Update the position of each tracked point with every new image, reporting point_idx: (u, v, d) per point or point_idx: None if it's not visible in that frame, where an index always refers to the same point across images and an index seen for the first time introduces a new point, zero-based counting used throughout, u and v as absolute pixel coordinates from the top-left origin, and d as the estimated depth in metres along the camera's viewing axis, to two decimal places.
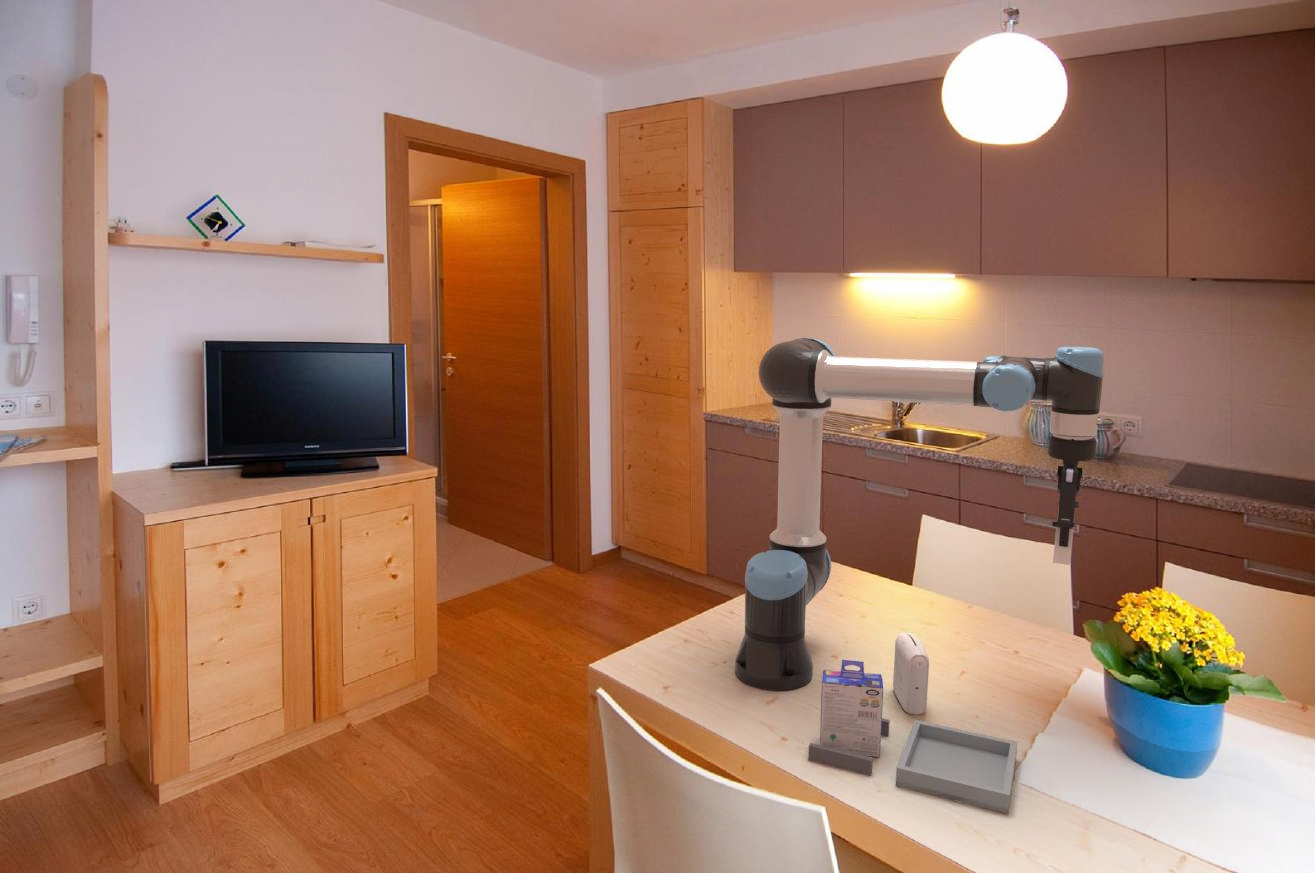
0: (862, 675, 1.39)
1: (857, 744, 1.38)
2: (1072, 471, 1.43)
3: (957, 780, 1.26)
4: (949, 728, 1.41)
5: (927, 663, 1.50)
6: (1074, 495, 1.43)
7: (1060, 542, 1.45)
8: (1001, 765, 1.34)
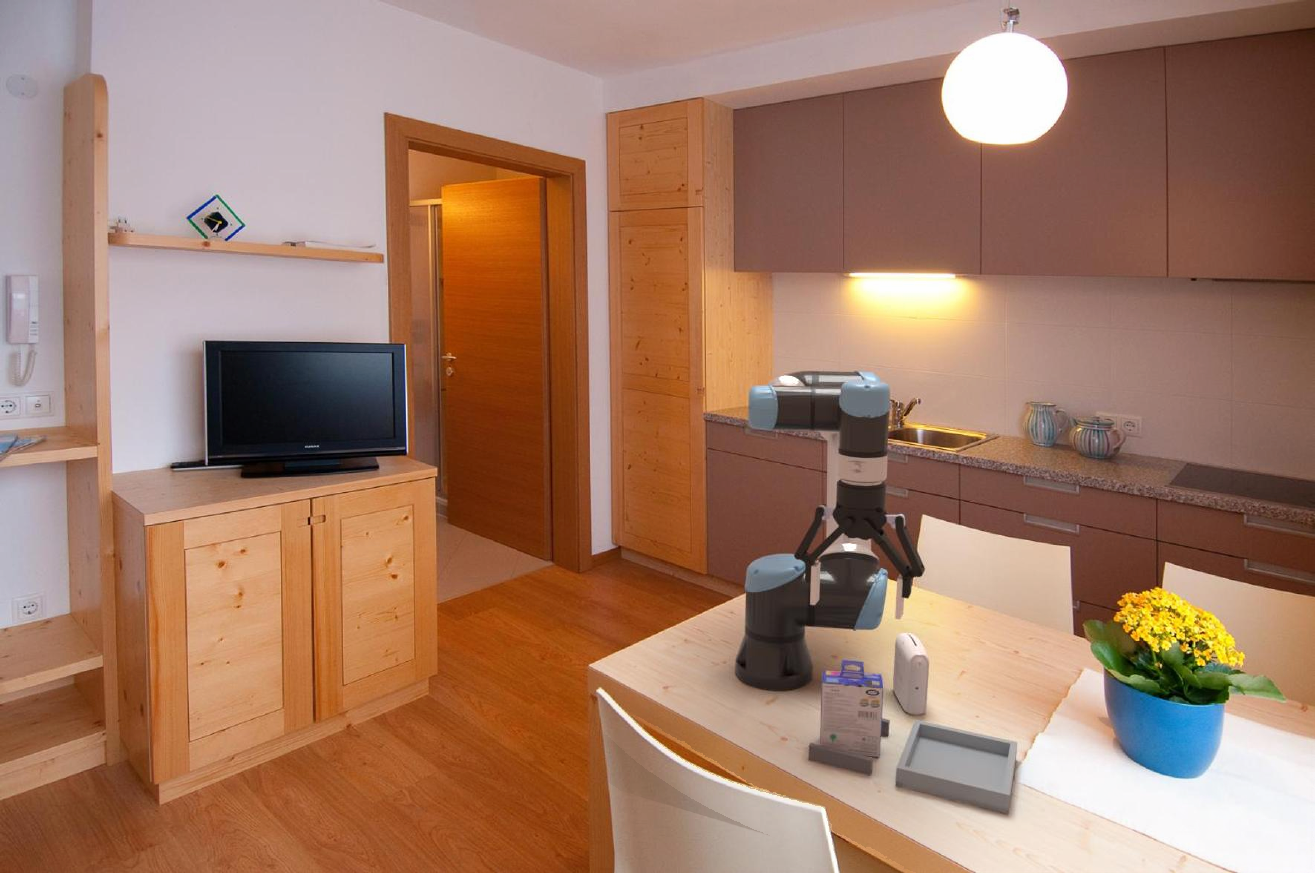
0: (862, 675, 1.39)
1: (857, 744, 1.38)
2: (818, 507, 1.36)
3: (957, 780, 1.26)
4: (949, 728, 1.41)
5: (927, 663, 1.50)
6: None
7: None
8: (1001, 765, 1.34)
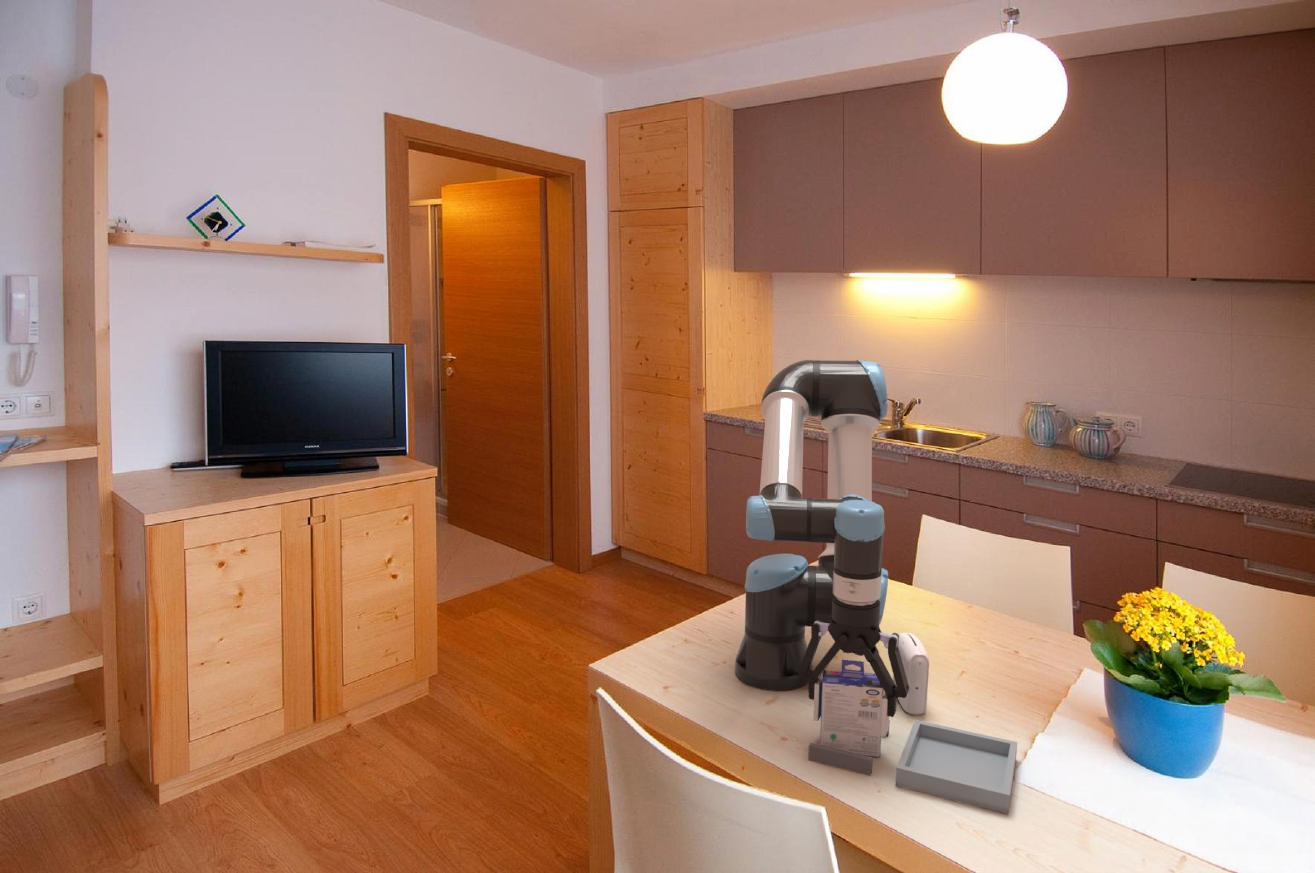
0: (862, 675, 1.39)
1: (857, 744, 1.38)
2: (813, 623, 1.40)
3: (957, 780, 1.26)
4: (949, 728, 1.41)
5: (927, 663, 1.50)
6: (807, 647, 1.40)
7: None
8: (1001, 765, 1.34)
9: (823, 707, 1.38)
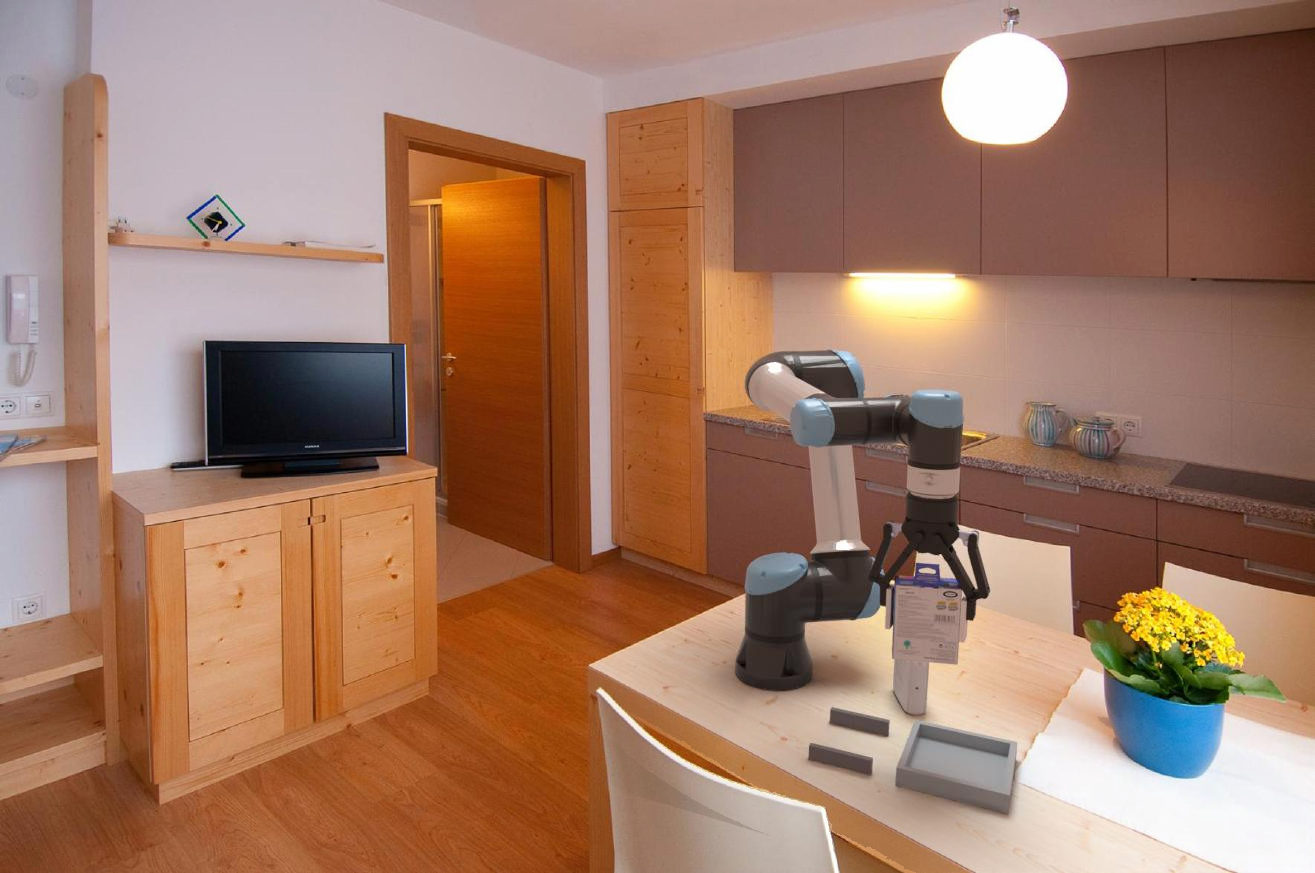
0: (938, 578, 1.30)
1: (933, 651, 1.29)
2: (885, 524, 1.32)
3: (957, 780, 1.26)
4: (949, 728, 1.41)
5: (927, 663, 1.50)
6: (879, 549, 1.32)
7: None
8: (1001, 765, 1.34)
9: (896, 611, 1.29)
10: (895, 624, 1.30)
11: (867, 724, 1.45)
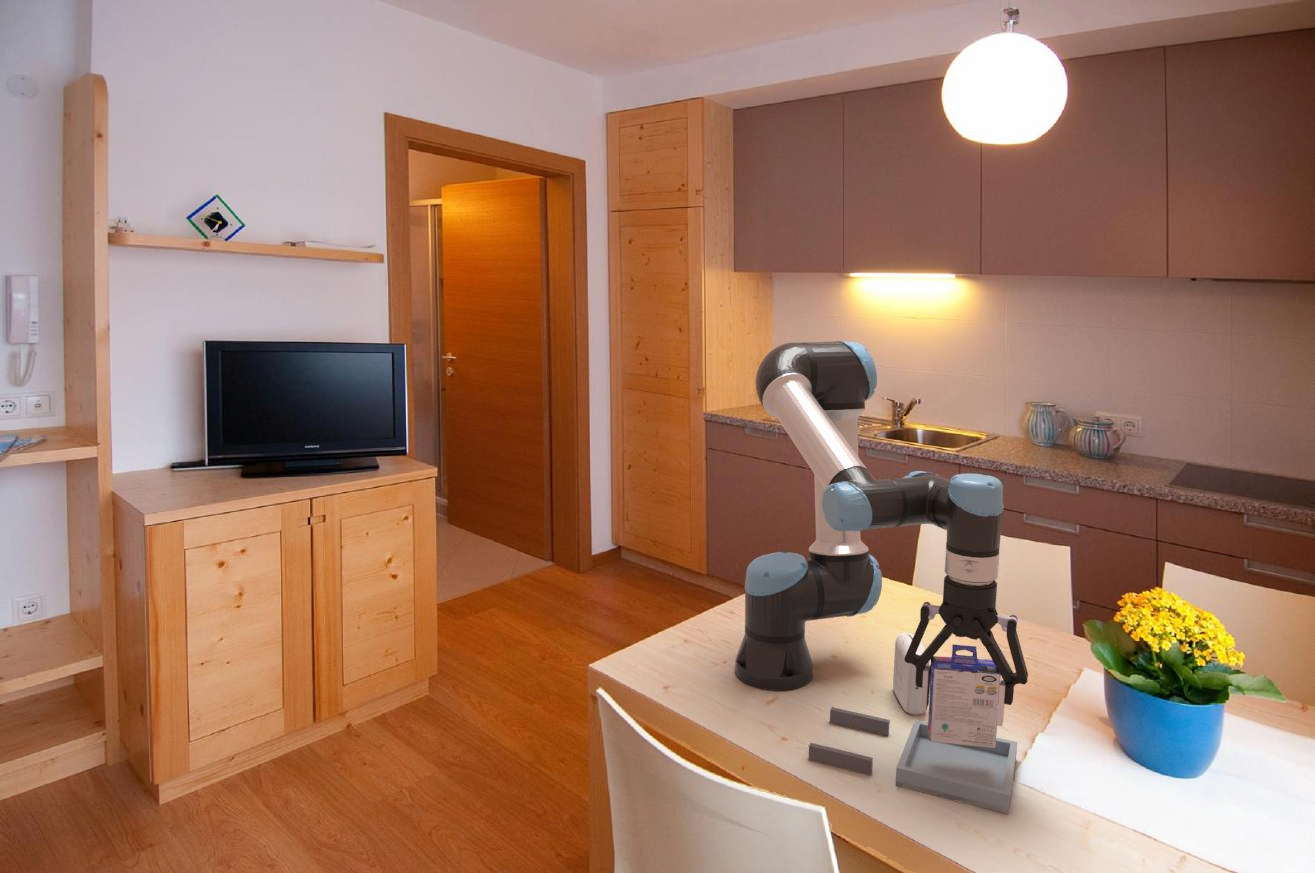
0: (975, 661, 1.30)
1: (971, 735, 1.29)
2: (922, 606, 1.31)
3: (957, 780, 1.26)
4: None
5: (927, 663, 1.50)
6: None
7: None
8: (1001, 765, 1.34)
9: (934, 695, 1.29)
10: (933, 707, 1.30)
11: (867, 724, 1.45)
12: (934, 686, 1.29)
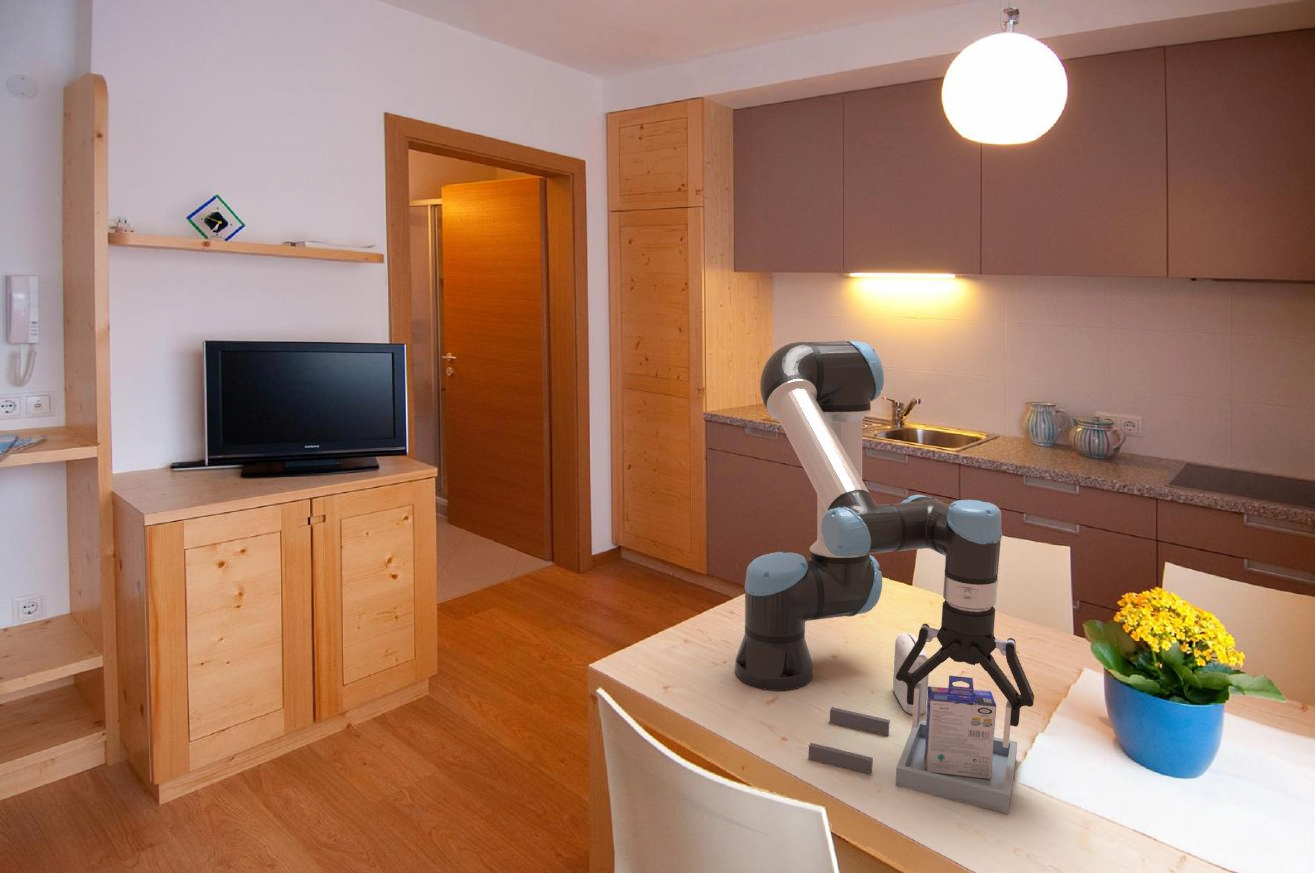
0: (972, 692, 1.31)
1: (967, 765, 1.30)
2: (921, 627, 1.32)
3: (957, 780, 1.26)
4: None
5: None
6: (911, 651, 1.33)
7: None
8: (1001, 765, 1.34)
9: (930, 726, 1.30)
10: (929, 738, 1.31)
11: (867, 724, 1.45)
12: (930, 717, 1.30)
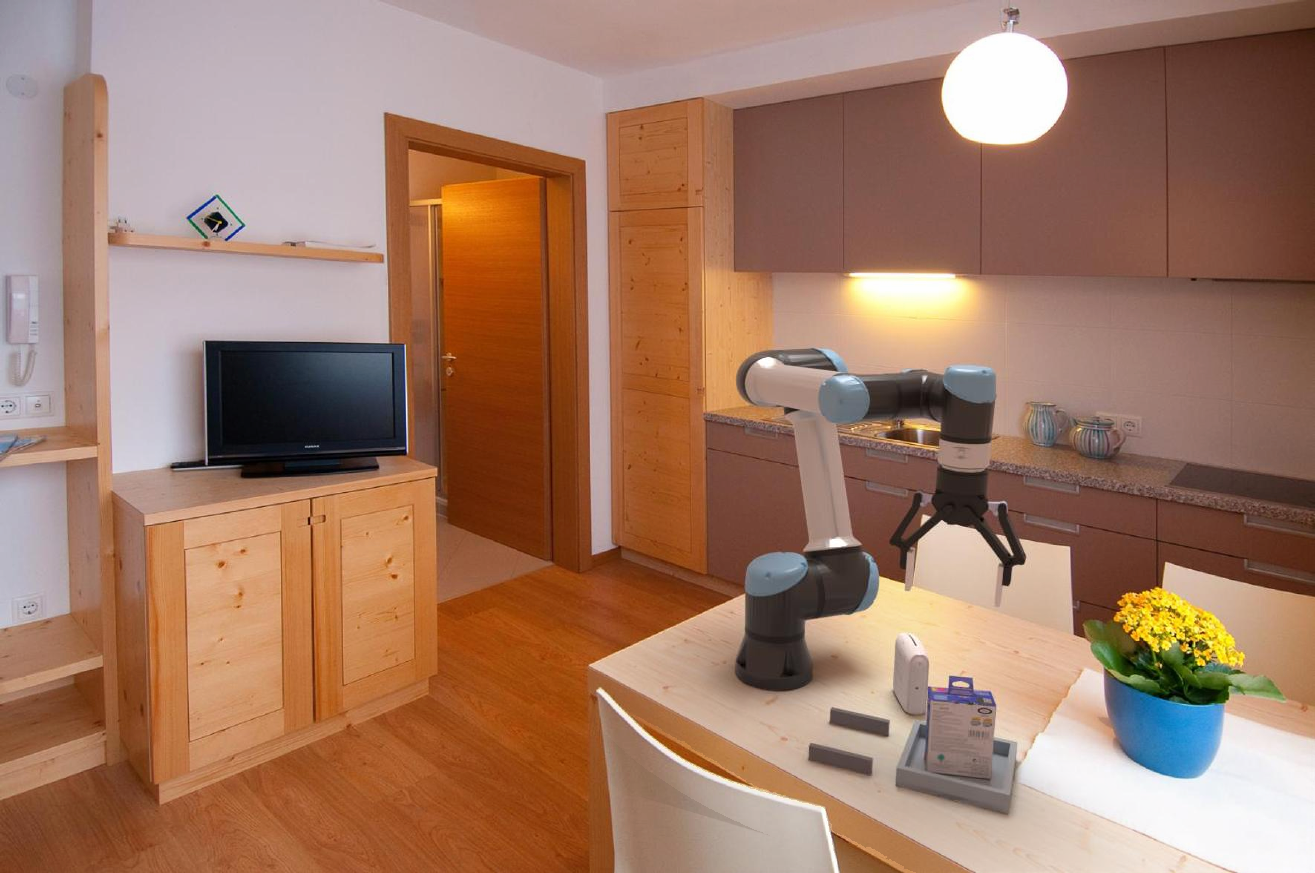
0: (971, 692, 1.31)
1: (967, 765, 1.30)
2: (916, 492, 1.35)
3: (957, 780, 1.26)
4: None
5: (927, 663, 1.50)
6: None
7: None
8: (1001, 765, 1.34)
9: (930, 726, 1.30)
10: (929, 738, 1.31)
11: (867, 724, 1.45)
12: (930, 717, 1.30)
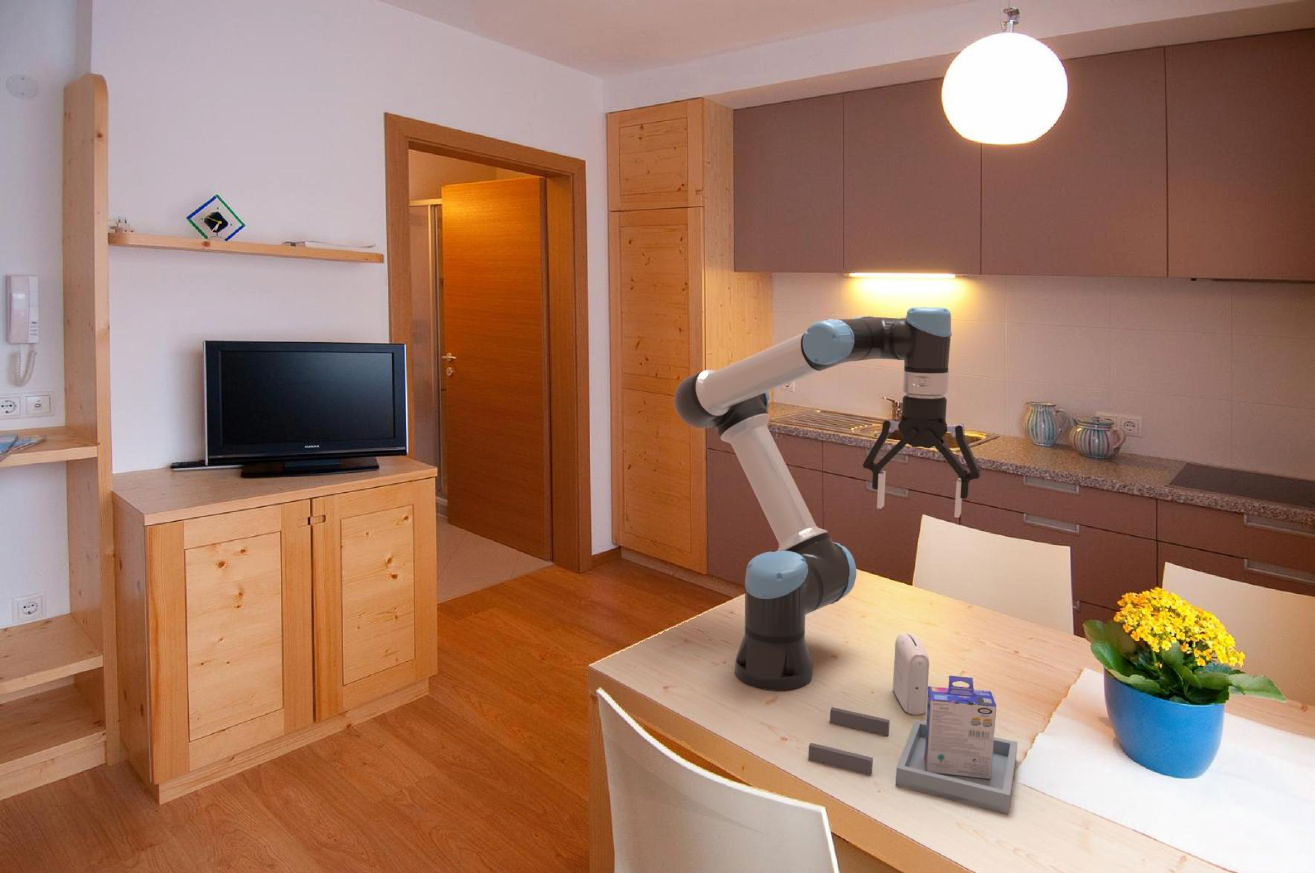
0: (972, 692, 1.31)
1: (967, 765, 1.30)
2: (885, 420, 1.54)
3: (957, 780, 1.26)
4: None
5: (927, 663, 1.50)
6: (876, 441, 1.55)
7: None
8: (1001, 765, 1.34)
9: (930, 726, 1.30)
10: (929, 738, 1.31)
11: (867, 724, 1.45)
12: (930, 717, 1.30)
